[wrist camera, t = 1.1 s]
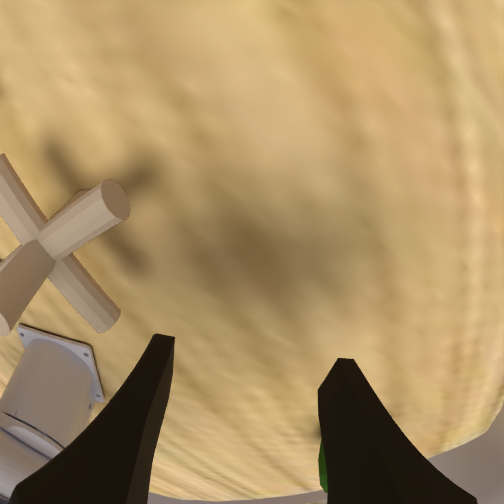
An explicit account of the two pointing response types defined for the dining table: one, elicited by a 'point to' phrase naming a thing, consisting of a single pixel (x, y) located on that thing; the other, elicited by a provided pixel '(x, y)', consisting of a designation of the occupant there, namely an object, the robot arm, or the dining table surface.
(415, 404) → the dining table surface
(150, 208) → the dining table surface
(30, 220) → the pipe connector
